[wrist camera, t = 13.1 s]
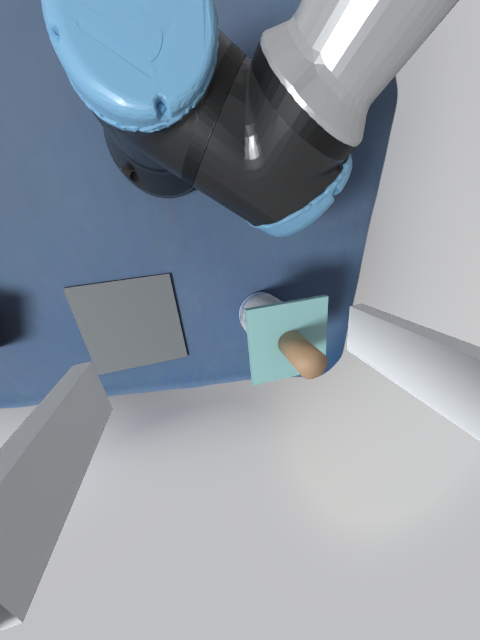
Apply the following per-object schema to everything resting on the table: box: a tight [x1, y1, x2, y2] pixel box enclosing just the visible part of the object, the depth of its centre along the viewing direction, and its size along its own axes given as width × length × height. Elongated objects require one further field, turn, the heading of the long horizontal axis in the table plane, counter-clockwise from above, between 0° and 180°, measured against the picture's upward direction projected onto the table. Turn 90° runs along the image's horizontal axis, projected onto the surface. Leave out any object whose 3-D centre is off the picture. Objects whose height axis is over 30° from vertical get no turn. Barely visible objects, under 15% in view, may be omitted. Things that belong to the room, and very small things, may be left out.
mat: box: [63, 273, 188, 375], centre depth 43 cm, size 18×18×1 cm
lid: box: [245, 295, 328, 385], centre depth 32 cm, size 13×13×8 cm
